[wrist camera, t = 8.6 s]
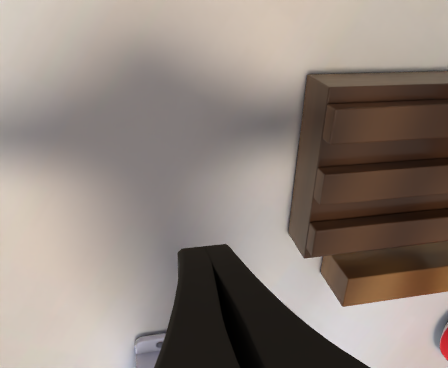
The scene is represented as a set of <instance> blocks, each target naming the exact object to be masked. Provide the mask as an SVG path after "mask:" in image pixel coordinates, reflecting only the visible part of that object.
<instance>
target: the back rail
mask: <svg viewBox="0 0 448 368" xmlns="http://www.w3.org/2000/svg"><path fill="white" fill-rule="evenodd" d="M321 274H322V276H323V277H324V279H325V280H326V282H327V283H328V285H329V286H330V288H331V290H332V291H333V293H334V294H335V296H336V297H337V299H338V300H339V302H340V304H341V305H342V306H343V307H345V306H351V305H358V304H365V303H372V302H379V301H385V300H392V299H399V298H406V297H413V296H419V295H426V294H433V293H440V292H447V291H448V241H445V242H437V243H429V244H420V245H412V246H404V247H396V248H387V249H379V250H371V251H362V252H354V253H346V254H338V255H329V256H323V261H322V267H321Z"/></svg>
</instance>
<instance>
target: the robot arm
mask: <svg viewBox="0 0 448 368" xmlns="http://www.w3.org/2000/svg"><path fill="white" fill-rule="evenodd" d="M160 341H163V342H160ZM135 352H136V368H370V367H368V366H367V365H365V364H364V363H362V362H360V361H359V360H357V359H356V358H354V357H353V356H351V355H349V354H348V353H346V352H345V351H343V350H342V349H340V348H339V347H337V346H336V345H334V344H333V343H331V342H330V341H328V340H327V339H326V338H324V337H323V336H322V335H320V334H319V333H318V332H316V331H315V330H314V329H312V328H311V327H310V326H309V325H307V324H306V323H305V322H304V321H303V320H301V319H300V318H299V317H298V316H297V315H295V314H294V313H293V312H292V311H291V310H290V309H289V308H288V307H286V306H285V305H284V304H283V303H282V302H281V301H280V300H279V299H278V298H277V297H276V296H275V295H274V294H273V293H272V292H271V291H270V290H269V289H268V288H267V287H266V286H265V285H263V284H262V283H261V282H260V281H259V279H258V278H257V277H256V276H255V275H254V274H253V273H252V272H251V271H250V270H249V269H248V268H247V267H246V265H245V264H244V263H243V262H242V261H241V260H240V259H239V257H238V256H237V255H236V254H235V253H234V252H233V250H232V249H231V248H230V247H229V246H228V245H227V244H222V245H212V246H203V247H193V248H184V249H181V250H180V251H179V252H178V285H177V290H176V296H175V301H174V306H173V310H172V314H171V317H170V321H169V325H168V328H167V332H166V333H164V334H157V335H150V336H143V337H140V338H138V339H137V340H136V341H135Z"/></svg>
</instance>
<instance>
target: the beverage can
mask: <svg viewBox="0 0 448 368" xmlns="http://www.w3.org/2000/svg"><path fill="white" fill-rule="evenodd" d="M440 350H441V353H442V354H443V355H444V357H445V358H446V359H447V360H448V322H447V324H446V325H445V327H444V330H443V332H442V335H441V339H440Z"/></svg>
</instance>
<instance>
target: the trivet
mask: <svg viewBox="0 0 448 368" xmlns="http://www.w3.org/2000/svg"><path fill="white" fill-rule="evenodd" d="M288 233H289V235H290V237H291V238H292V240H293V241H294V243H295V245H296V246H297V248H298V250H299V251H300V253H301V254H302V256H303V258H313V257H321V256H329V255H338V254H346V253H354V252H362V251H371V250H379V249H387V248H396V247H404V246H412V245H420V244H429V243H437V242H445V241H448V71H430V72H389V73H348V74H309V75H307V82H306V90H305V99H304V107H303V115H302V123H301V132H300V140H299V148H298V157H297V165H296V173H295V181H294V190H293V198H292V206H291V215H290V223H289V231H288Z"/></svg>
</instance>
